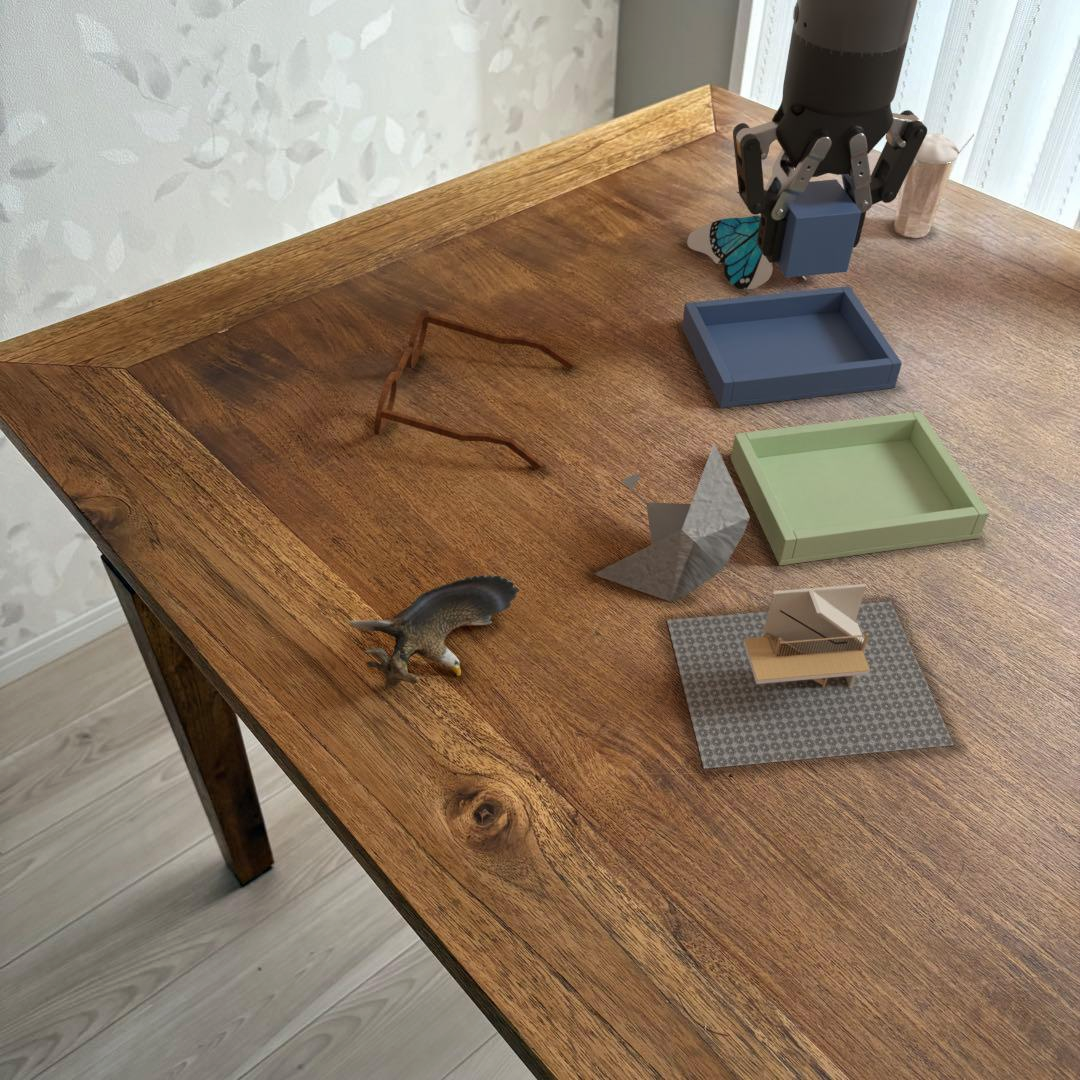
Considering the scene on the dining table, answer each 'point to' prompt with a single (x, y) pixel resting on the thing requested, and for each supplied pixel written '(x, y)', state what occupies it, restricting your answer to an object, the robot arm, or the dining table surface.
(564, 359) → the glasses
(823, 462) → the green tray
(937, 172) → the milkshake
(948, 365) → the dining table surface
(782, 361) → the blue tray
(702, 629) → the architectural model
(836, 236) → the block
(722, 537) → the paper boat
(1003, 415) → the dining table surface
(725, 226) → the decorative butterfly
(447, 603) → the eagle figurine
